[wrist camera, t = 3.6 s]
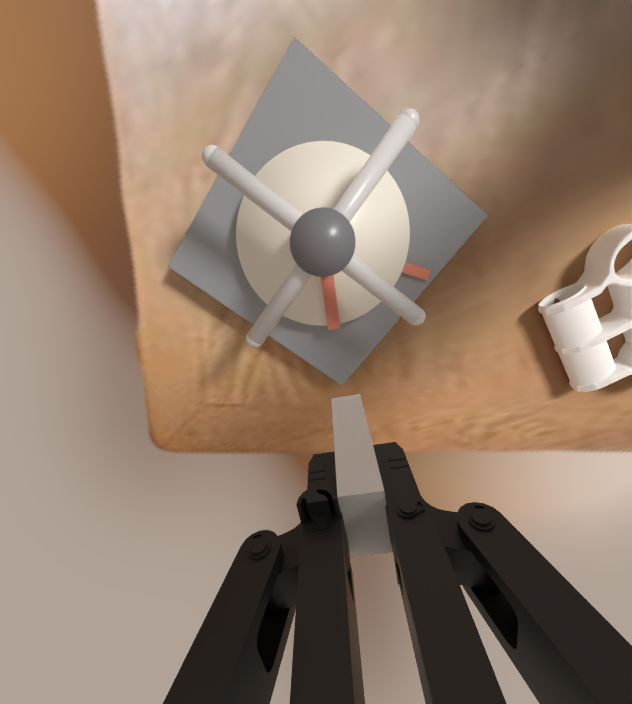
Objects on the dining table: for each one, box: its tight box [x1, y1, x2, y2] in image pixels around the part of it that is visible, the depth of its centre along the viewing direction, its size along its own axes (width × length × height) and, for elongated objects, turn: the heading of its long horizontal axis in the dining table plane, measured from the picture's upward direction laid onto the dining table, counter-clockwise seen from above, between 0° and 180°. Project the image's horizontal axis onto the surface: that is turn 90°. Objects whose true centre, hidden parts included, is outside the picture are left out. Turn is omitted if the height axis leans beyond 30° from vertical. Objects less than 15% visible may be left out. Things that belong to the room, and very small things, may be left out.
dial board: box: [168, 37, 488, 386], centre depth 31 cm, size 22×22×2 cm
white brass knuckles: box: [538, 224, 632, 392], centre depth 33 cm, size 3×18×15 cm
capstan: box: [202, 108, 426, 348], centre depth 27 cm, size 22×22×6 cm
